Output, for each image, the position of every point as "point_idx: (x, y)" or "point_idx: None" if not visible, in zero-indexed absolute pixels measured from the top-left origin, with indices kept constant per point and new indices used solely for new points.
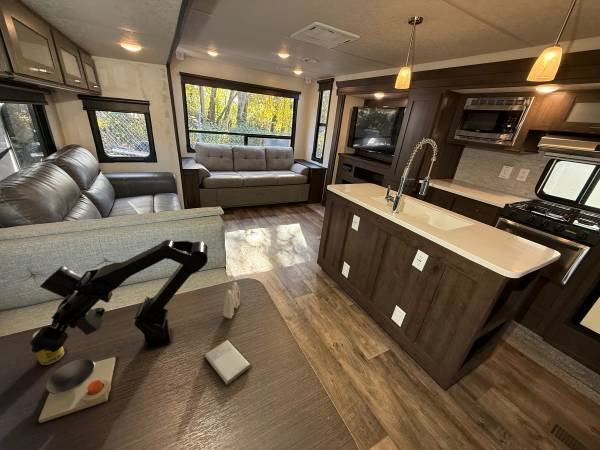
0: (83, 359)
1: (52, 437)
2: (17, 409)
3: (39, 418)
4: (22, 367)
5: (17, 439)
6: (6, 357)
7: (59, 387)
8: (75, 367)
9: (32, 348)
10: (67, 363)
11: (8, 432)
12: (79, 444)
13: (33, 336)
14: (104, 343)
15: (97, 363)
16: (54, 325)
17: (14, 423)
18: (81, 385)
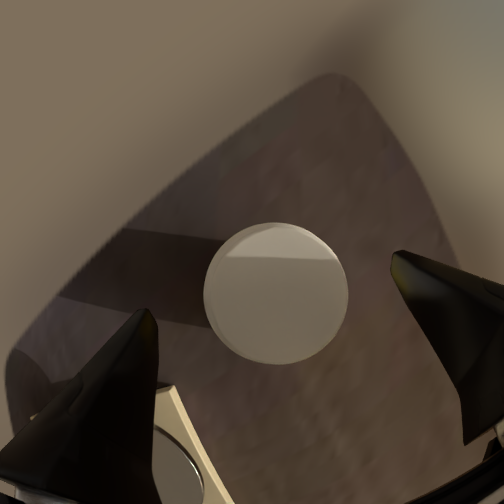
0: (198, 491)
1: None
2: (60, 326)
3: (32, 418)
4: (218, 203)
5: (10, 381)
6: (270, 108)
7: None
8: (156, 480)
9: (111, 339)
10: (174, 443)
11: (17, 348)
12: None
13: (234, 249)
14: (336, 457)
15: (215, 501)
16: (397, 274)
17: (32, 348)
18: None
